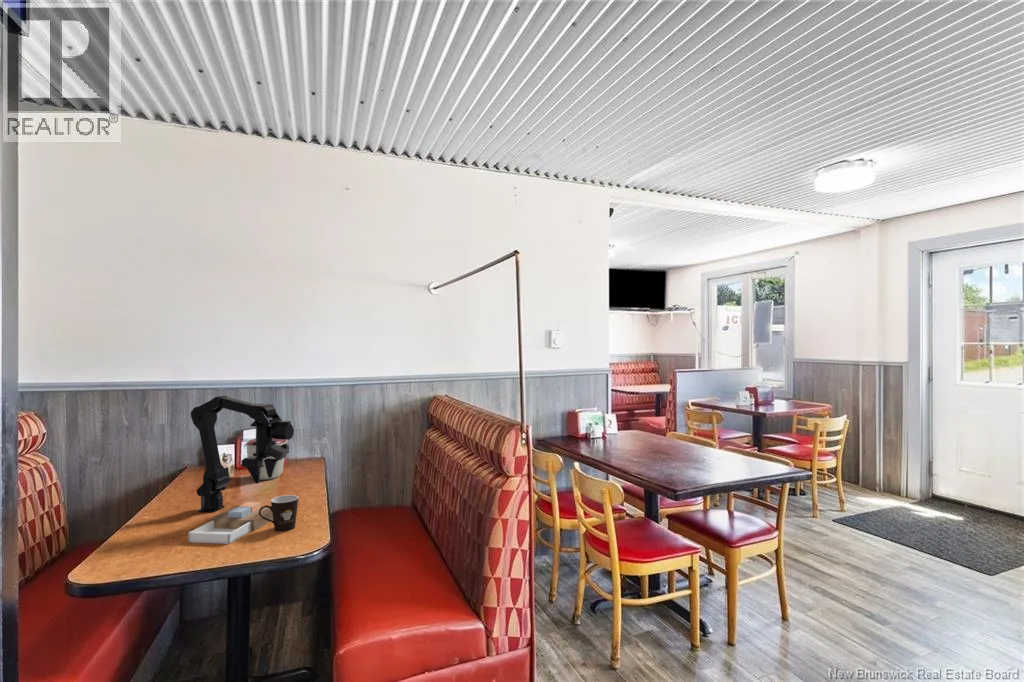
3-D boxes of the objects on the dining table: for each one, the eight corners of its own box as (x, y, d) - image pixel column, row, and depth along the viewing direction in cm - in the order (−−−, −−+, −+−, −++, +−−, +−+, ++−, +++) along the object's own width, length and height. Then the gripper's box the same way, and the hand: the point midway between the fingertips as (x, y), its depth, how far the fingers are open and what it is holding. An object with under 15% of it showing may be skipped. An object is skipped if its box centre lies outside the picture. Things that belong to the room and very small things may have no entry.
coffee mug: (301, 523, 177) (301, 494, 177) (295, 532, 168) (295, 502, 168) (265, 525, 175) (265, 496, 175) (257, 534, 166) (257, 504, 166)
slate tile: (228, 517, 172) (228, 511, 172) (237, 512, 177) (237, 507, 177) (241, 518, 171) (241, 512, 171) (250, 513, 176) (250, 507, 176)
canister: (236, 482, 228) (236, 435, 228) (258, 472, 246) (258, 428, 246) (275, 482, 227) (275, 436, 227) (294, 472, 245) (294, 429, 245)
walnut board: (209, 529, 171) (209, 518, 171) (236, 515, 185) (236, 505, 185) (254, 530, 169) (254, 520, 169) (277, 516, 183) (277, 506, 183)
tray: (188, 542, 160) (188, 532, 160) (212, 529, 171) (212, 520, 171) (229, 543, 158) (229, 534, 158) (251, 530, 169) (251, 521, 169)
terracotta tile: (238, 512, 178) (238, 506, 178) (247, 507, 182) (247, 501, 182) (252, 512, 177) (252, 506, 177) (260, 507, 182) (260, 502, 182)
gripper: (270, 444, 178) (269, 488, 178) (298, 434, 196) (297, 474, 196) (240, 443, 179) (239, 487, 179) (270, 433, 198) (270, 473, 198)
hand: (263, 480), depth 188 cm, fingers open, 8 cm apart
